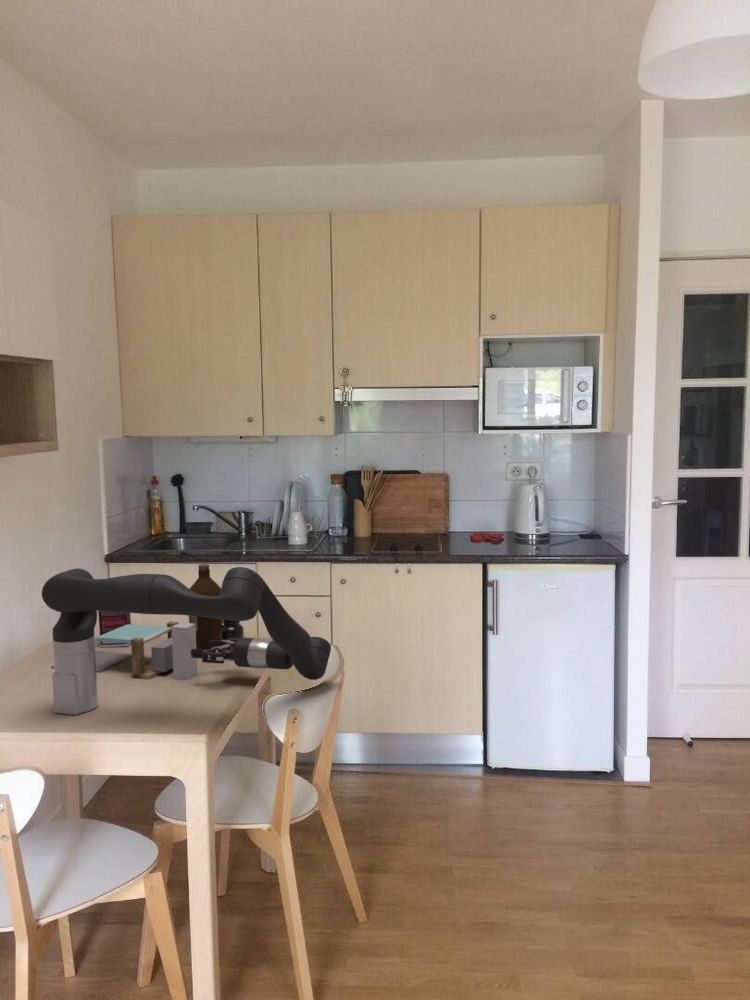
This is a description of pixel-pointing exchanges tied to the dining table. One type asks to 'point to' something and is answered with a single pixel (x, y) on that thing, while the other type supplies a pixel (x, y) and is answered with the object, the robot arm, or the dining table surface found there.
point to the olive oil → (205, 625)
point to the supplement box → (112, 625)
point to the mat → (107, 659)
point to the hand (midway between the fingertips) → (199, 648)
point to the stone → (184, 650)
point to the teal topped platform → (160, 652)
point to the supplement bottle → (231, 630)
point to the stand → (138, 658)
